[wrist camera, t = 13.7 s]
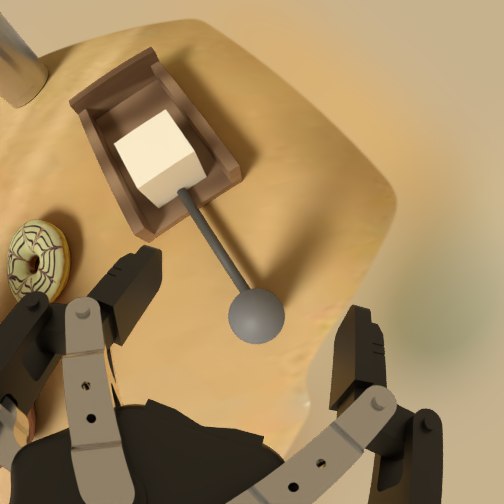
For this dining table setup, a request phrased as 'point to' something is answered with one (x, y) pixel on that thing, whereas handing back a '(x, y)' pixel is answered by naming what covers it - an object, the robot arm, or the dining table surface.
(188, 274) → the dining table surface
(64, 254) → the decorated donut
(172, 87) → the walnut lane
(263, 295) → the block with knobbed rod
